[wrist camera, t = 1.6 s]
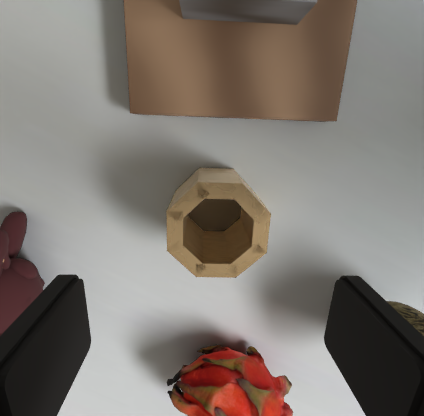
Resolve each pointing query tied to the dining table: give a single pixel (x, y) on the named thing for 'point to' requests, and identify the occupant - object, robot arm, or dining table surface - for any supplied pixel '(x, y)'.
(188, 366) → the dragon fruit
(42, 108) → the dining table surface
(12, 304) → the icecream
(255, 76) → the shaft stand
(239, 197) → the hub
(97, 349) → the dining table surface
